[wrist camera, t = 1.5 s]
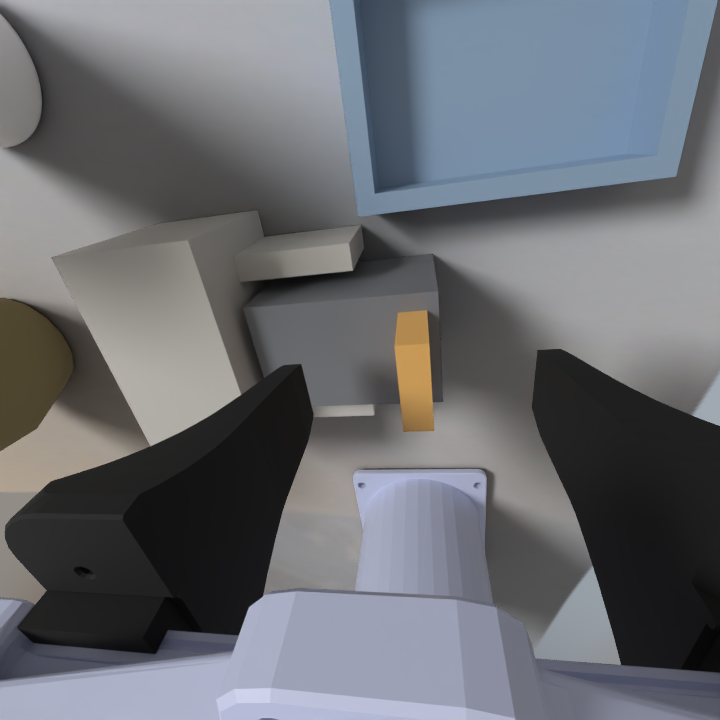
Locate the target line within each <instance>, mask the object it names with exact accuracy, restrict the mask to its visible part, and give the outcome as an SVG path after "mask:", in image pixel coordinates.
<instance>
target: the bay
mask: <svg viewBox="0 0 720 720" xmlns="http://www.w3.org/2000/svg"><path fill="white" fill-rule="evenodd" d="M363 249H364V243H363V236H362V228H361V225H356V226H348V227H340V228H331V229H323V230H315V231H307V232H299V233H291V234H283V235H274V236H266V237H264V233H263V229H262V225H261V221H260V217H259V213H258V210H255V211H248V212H241V213H233V214H226V215H219V216H211V217H204V218H197V219H189V220H182V221H175V222H167V223H160V224H155V225H152V226H149V227H146V228H143V229H139V230H136V231H133V232H130V233H127V234H124V235H120V236H117V237H114V238H111V239H108V240H105V241H101V242H98V243H95V244H92V245H89V246H86V247H82V248H79V249H76V250H73V251H70V252H67V253H63V254H60V255H57V256H54V257H51V258H52V260H53V262H54V264H55V266H56V267H57V269H58V271H59V273H60V275H61V277H62V279H63V281H64V283H65V285H66V287H67V288H68V290H69V292H70V294H71V296H72V298H73V300H74V302H75V304H76V306H77V307H78V309H79V311H80V313H81V315H82V317H83V319H84V321H85V323H86V325H87V326H88V328H89V330H90V332H91V334H92V336H93V338H94V340H95V342H96V344H97V345H98V347H99V349H100V351H101V353H102V355H103V357H104V359H105V361H106V363H107V364H108V366H109V368H110V370H111V372H112V374H113V376H114V378H115V380H116V382H117V383H118V385H119V387H120V389H121V391H122V393H123V395H124V397H125V399H126V401H127V403H128V404H129V406H130V408H131V410H132V412H133V414H134V416H135V418H136V420H137V422H138V423H139V425H140V427H141V429H142V431H143V433H144V435H145V437H146V439H147V441H148V442H149V444H150V446H152V445H154V444H156V443H159V442H161V441H163V440H165V439H167V438H169V437H171V436H173V435H176V434H178V433H180V432H182V431H184V430H185V429H187V428H189V427H191V426H193V425H195V424H196V423H198V422H200V421H202V420H203V419H205V418H207V417H208V416H210V415H212V414H213V413H215V412H216V411H218V410H219V409H221V408H222V407H224V406H225V405H227V404H228V403H230V402H231V401H233V400H234V399H236V398H237V397H239V396H240V395H242V394H243V393H244V392H246V391H247V390H248V389H250V388H251V387H253V386H254V385H255V384H257V383H258V382H259V381H261V380H262V379H263V378H264V376H263V373H262V370H261V366H260V363H259V360H258V357H257V353H256V350H255V347H254V343H253V340H252V337H251V334H250V330H249V327H248V324H247V320H246V317H245V314H244V310H243V308H244V307H245V306H246V305H247V304H248V303H249V302H250V301H251V300H252V299H253V298H254V297H255V296H256V295H257V294H258V293H259V292H260V291H262V290H263V289H264V288H265V287H266V286H267V285H268V284H269V283H270V282H271V281H272V280H273V279H276V278H285V277H295V276H305V275H315V274H325V273H335V272H345V271H353V270H354V268H355V266H356V264H357V262H358V259H359V257H360V255H361V253H362V251H363ZM312 409H313V413H314V416H313V417H342V416H373V415H375V409H376V404H367V405H340V406H314V407H312Z"/></svg>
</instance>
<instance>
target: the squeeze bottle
mask: <svg viewBox="0 0 720 720" xmlns="http://www.w3.org/2000/svg"><path fill="white" fill-rule="evenodd" d="M73 369H74V364H73V357H72V352H71V350H70V348H69V346H68V344H67V342H66V341H65V339H64V337H63V335H62V334H61V333H60V332H59V331H58V330H57V328H56V327H55V326H54V325H53V324H52V323H51V322H50V321H49V320H48V319H47V318H46V317H45V316H43V315H41V314H40V313H38V312H37V311H35V310H34V309H32V308H30V307H29V306H27V305H26V304H23V303H20V302H16V301H13V300H10V299H6V298H0V451H1V450H3V449H4V448H6V447H8V446H9V445H11V444H13V443H14V442H16V441H17V440H19V439H21V438H22V437H24V436H26V435H27V434H29V433H30V432H32V431H34V430H35V429H37V428H38V426H39V425H40V423H41V422H42V420H43V419H44V417H45V416H46V414H47V413H48V411H49V410H50V408H51V407H52V405H53V404H54V402H55V401H56V399H57V397H58V396H59V394H60V393H61V391H62V390H63V388H64V387H65V385H66V384H67V382H68V381H69V379H70V377H71V374H72V372H73Z"/></svg>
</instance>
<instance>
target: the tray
mask: <svg viewBox="0 0 720 720" xmlns="http://www.w3.org/2000/svg"><path fill="white" fill-rule="evenodd" d="M329 2H330V9H331V17H332V24H333V32H334V39H335V47H336V54H337V62H338V69H339V77H340V84H341V92H342V100H343V107H344V115H345V122H346V130H347V137H348V145H349V152H350V160H351V167H352V175H353V182H354V190H355V197H356V205H357V212H358V217H361V216H369V215H377V214H385V213H393V212H401V211H409V210H416V209H424V208H432V207H440V206H448V205H456V204H464V203H472V202H480V201H488V200H495V199H503V198H511V197H519V196H527V195H535V194H543V193H551V192H559V191H567V190H574V189H582V188H590V187H598V186H606V185H614V184H622V183H630V182H638V181H646V180H653V179H661V178H669V177H676V175H677V171H678V167H679V163H680V158H681V154H682V150H683V146H684V142H685V137H686V133H687V129H688V125H689V120H690V116H691V112H692V108H693V103H694V99H695V95H696V91H697V87H698V82H699V78H700V74H701V70H702V65H703V61H704V57H705V53H706V48H707V44H708V40H709V36H710V31H711V27H712V23H713V19H714V15H715V10H716V6H717V2H718V0H329Z"/></svg>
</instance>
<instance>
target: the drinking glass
mask: <svg viewBox="0 0 720 720" xmlns="http://www.w3.org/2000/svg"><path fill="white" fill-rule="evenodd" d="M41 111H42V94H41V87H40V82H39V78H38V75H37V72H36V69H35V66H34V64H33V61H32V59H31V57H30V55H29V53H28V51H27V49H26V47H25V45H24V44H23V42H22V40H21V39H20V37H19V36H18V34H17V33H16V32H15V30H14V29H13V28H12V26H11V25H10V24H9V23H8V21H7V20H6V19H5V18H4V17H3V16H2V15H1V14H0V148H8V147H13V146H16V145H19V144H21V143H23V142H24V141H26V140H27V139H28V138H29V137H30V136H31V135H32V134H33V133H34V131H35V130H36V128H37V126H38V123H39V121H40V117H41Z"/></svg>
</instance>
